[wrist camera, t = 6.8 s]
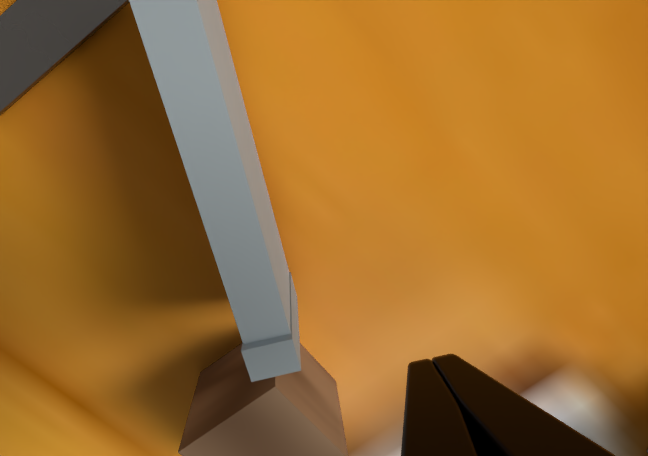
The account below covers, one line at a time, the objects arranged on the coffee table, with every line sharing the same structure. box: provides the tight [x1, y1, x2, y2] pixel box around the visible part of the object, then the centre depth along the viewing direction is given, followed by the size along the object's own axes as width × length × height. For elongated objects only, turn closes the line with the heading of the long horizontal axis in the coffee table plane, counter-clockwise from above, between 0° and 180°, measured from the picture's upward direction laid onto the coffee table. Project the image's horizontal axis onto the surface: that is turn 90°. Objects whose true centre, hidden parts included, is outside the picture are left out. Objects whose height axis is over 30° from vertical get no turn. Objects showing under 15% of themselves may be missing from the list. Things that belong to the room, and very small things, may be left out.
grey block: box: [129, 0, 301, 382], centre depth 13 cm, size 12×2×5 cm, turn 12°
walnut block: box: [178, 343, 348, 456], centre depth 18 cm, size 4×4×4 cm
